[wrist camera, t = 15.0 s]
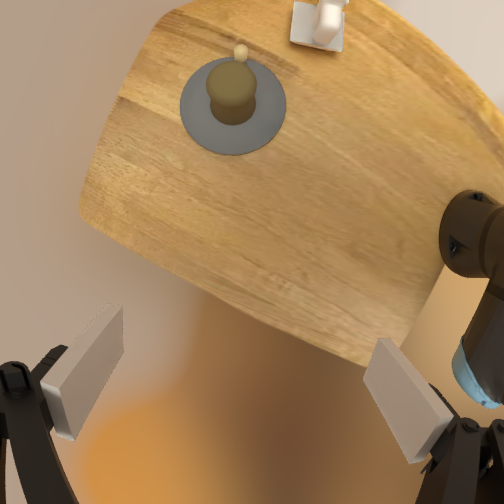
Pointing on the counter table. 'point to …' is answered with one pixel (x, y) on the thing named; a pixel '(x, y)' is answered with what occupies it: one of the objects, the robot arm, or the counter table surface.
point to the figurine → (319, 24)
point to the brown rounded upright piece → (232, 92)
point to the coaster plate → (238, 136)
